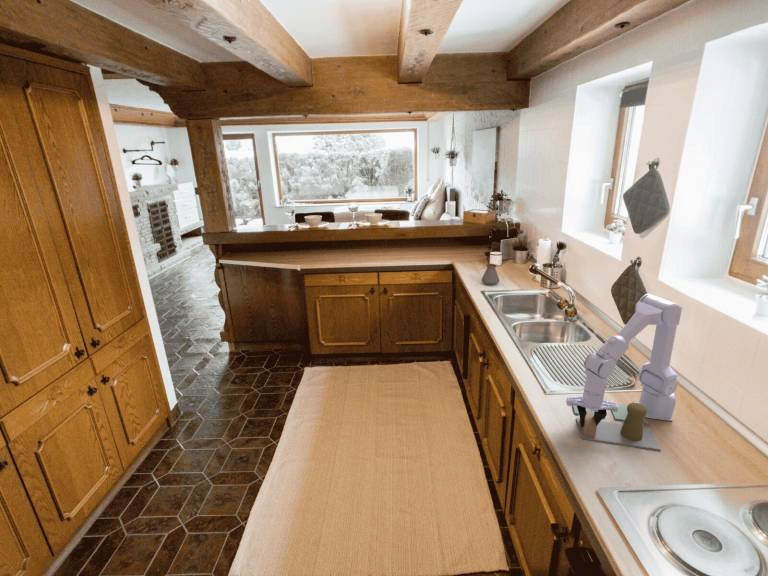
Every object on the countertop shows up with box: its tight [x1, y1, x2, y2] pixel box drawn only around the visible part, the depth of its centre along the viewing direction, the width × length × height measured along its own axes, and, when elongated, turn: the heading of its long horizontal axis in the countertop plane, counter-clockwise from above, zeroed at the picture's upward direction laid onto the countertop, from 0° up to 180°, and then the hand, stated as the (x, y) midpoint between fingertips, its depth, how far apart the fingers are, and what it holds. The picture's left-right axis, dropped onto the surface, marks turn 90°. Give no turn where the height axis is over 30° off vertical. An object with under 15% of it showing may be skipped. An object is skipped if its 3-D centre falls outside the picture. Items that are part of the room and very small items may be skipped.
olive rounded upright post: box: [620, 402, 647, 441], centre depth 126 cm, size 6×6×11 cm
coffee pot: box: [481, 255, 500, 287], centre depth 267 cm, size 21×12×15 cm, turn 177°
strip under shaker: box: [575, 411, 662, 452], centre depth 128 cm, size 22×10×5 cm, turn 75°
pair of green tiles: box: [571, 403, 648, 425], centre depth 139 cm, size 22×9×1 cm, turn 75°
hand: (587, 425), depth 130 cm, fingers closed on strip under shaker, 3 cm apart
